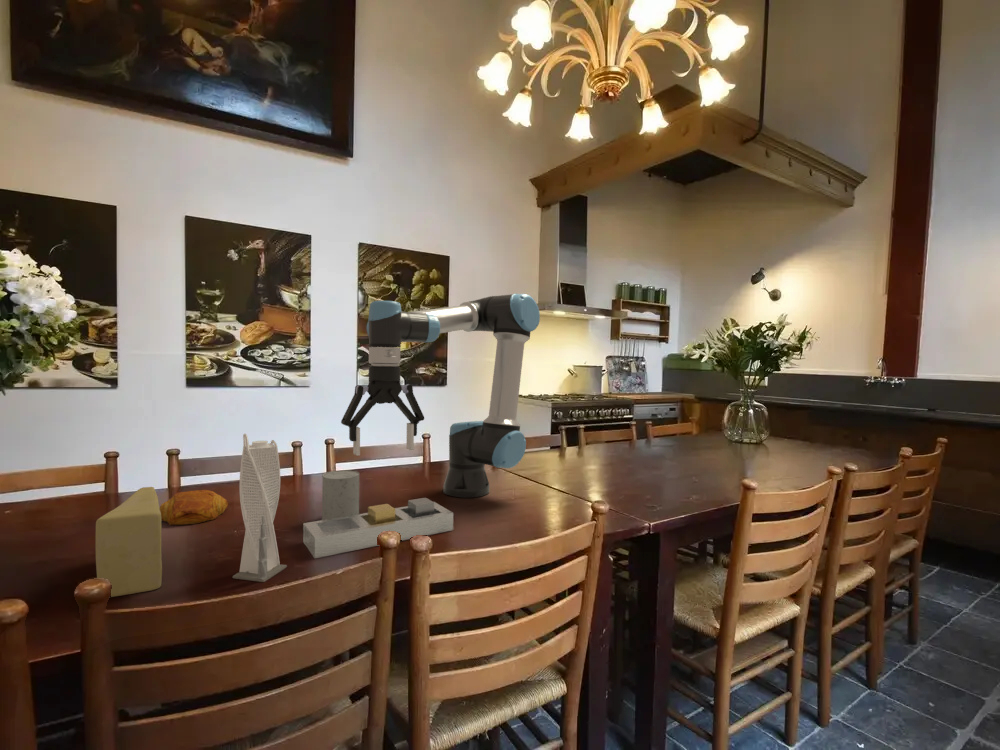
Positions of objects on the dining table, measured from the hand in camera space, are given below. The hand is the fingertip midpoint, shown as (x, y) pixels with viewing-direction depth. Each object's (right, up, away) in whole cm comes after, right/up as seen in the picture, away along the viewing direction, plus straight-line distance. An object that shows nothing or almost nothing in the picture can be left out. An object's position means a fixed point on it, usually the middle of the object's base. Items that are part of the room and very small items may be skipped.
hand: (384, 452), depth 120 cm
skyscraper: (-21, -21, -20) cm, 36 cm away
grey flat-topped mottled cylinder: (-14, -20, +12) cm, 27 cm away
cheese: (-44, -21, -21) cm, 53 cm away
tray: (-1, -21, 0) cm, 21 cm away
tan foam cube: (-1, -19, 0) cm, 19 cm away
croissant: (-54, -20, +11) cm, 59 cm away
